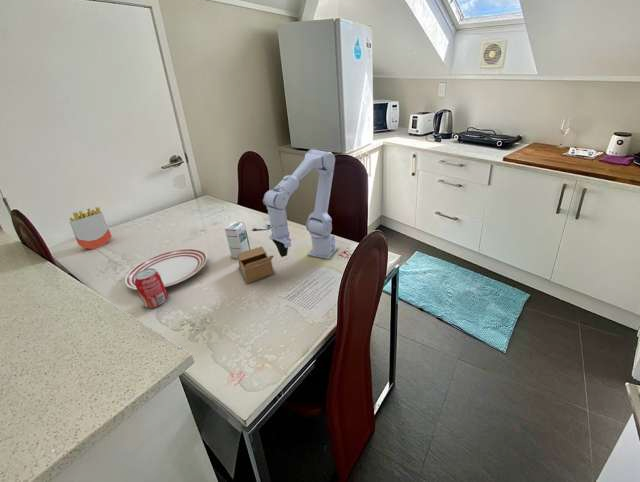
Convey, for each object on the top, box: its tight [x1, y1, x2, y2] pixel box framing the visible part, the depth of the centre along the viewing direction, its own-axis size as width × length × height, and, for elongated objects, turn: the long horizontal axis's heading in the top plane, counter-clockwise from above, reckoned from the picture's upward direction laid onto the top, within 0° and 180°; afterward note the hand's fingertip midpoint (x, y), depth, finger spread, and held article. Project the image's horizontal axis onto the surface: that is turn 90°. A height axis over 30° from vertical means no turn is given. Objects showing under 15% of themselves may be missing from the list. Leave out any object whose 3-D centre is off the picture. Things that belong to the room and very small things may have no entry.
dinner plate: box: [124, 247, 208, 291], centre depth 121 cm, size 27×27×3 cm
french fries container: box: [69, 206, 112, 250], centre depth 138 cm, size 5×11×18 cm, turn 148°
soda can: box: [135, 268, 168, 308], centre depth 104 cm, size 7×7×12 cm
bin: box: [236, 246, 274, 284], centre depth 121 cm, size 12×10×7 cm
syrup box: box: [224, 221, 251, 259], centre depth 130 cm, size 6×6×14 cm
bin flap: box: [244, 255, 274, 269], centre depth 113 cm, size 6×10×1 cm
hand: (283, 255), depth 115 cm, fingers closed
